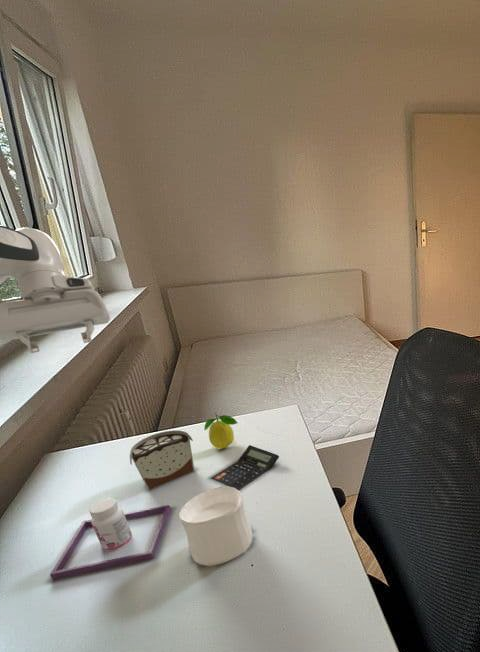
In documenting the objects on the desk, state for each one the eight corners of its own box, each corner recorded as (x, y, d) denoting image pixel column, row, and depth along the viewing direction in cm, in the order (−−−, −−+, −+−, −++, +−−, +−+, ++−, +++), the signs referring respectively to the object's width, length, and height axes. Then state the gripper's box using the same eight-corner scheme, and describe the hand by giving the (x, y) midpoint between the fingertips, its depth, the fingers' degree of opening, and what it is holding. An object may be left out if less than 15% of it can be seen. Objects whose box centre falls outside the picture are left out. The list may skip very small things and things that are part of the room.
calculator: (211, 481, 96) (207, 469, 95) (253, 454, 105) (250, 444, 104) (239, 493, 91) (236, 481, 90) (281, 465, 100) (278, 453, 99)
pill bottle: (95, 551, 78) (79, 513, 74) (116, 532, 82) (101, 495, 79) (119, 553, 77) (103, 515, 74) (138, 534, 81) (124, 496, 78)
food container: (192, 460, 104) (181, 423, 100) (201, 470, 100) (190, 432, 96) (134, 484, 97) (120, 445, 93) (142, 496, 92) (127, 456, 88)
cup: (265, 538, 79) (254, 493, 75) (220, 579, 71) (206, 531, 67) (228, 522, 83) (216, 480, 79) (181, 560, 75) (166, 514, 71)
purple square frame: (54, 583, 72) (49, 574, 71) (86, 529, 84) (83, 521, 83) (154, 562, 75) (151, 553, 74) (172, 512, 87) (169, 504, 86)
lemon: (243, 447, 109) (234, 411, 105) (221, 458, 105) (211, 420, 101) (229, 439, 113) (221, 404, 109) (207, 449, 109) (197, 413, 105)
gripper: (-20, 293, 90) (-8, 349, 87) (97, 278, 101) (113, 328, 97) (-8, 310, 96) (5, 364, 92) (102, 294, 106) (118, 342, 102)
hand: (61, 345), depth 94 cm, fingers open, 8 cm apart
